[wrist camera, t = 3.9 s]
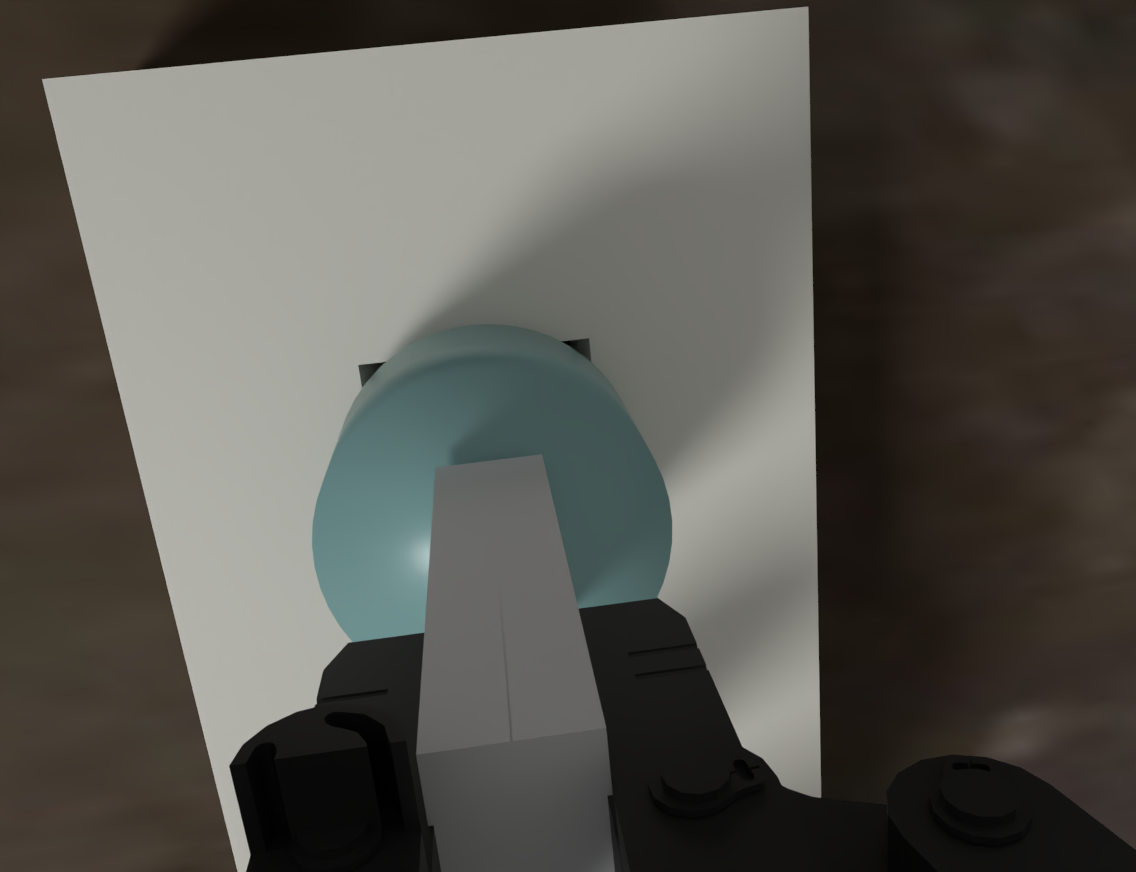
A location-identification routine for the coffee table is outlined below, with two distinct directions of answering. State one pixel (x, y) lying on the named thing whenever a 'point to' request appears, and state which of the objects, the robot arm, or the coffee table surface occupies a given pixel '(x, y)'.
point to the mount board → (463, 314)
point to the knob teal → (475, 434)
